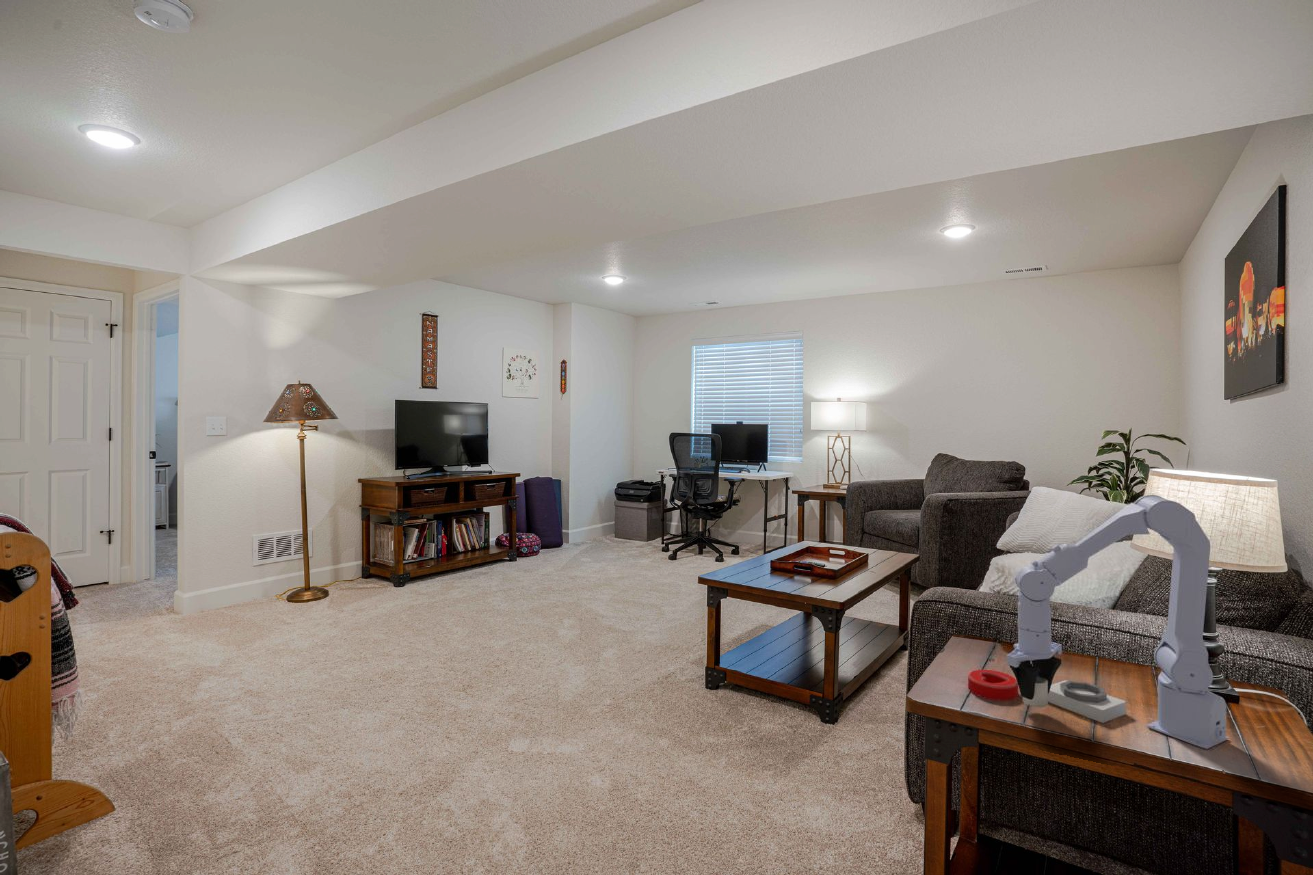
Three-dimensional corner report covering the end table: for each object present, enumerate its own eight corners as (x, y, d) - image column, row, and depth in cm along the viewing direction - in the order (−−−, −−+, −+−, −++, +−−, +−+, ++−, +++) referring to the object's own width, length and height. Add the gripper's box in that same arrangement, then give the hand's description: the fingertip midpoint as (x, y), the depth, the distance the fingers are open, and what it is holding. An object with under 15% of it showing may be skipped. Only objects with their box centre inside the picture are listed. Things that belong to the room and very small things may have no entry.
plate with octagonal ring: (1126, 713, 128) (1126, 695, 128) (1102, 722, 125) (1102, 704, 125) (1065, 691, 139) (1065, 674, 139) (1041, 699, 136) (1041, 681, 136)
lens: (1052, 703, 129) (1052, 679, 129) (1038, 708, 127) (1038, 683, 127) (1031, 695, 133) (1031, 671, 133) (1017, 700, 131) (1017, 675, 131)
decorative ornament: (1027, 700, 136) (1027, 685, 136) (983, 702, 135) (983, 687, 135) (1001, 681, 146) (1001, 668, 145) (959, 683, 145) (959, 669, 145)
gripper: (1037, 616, 136) (1038, 680, 137) (992, 628, 130) (992, 694, 130) (1072, 626, 130) (1072, 692, 130) (1025, 638, 123) (1026, 708, 124)
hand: (1034, 694), depth 130 cm, fingers closed on lens, 4 cm apart
